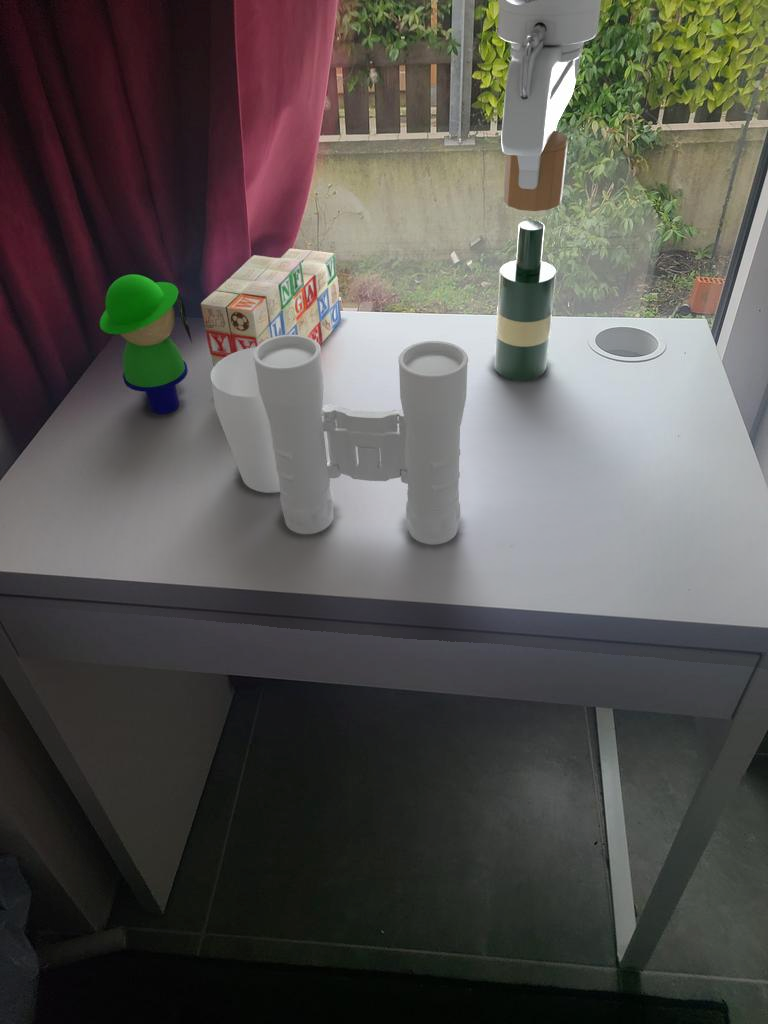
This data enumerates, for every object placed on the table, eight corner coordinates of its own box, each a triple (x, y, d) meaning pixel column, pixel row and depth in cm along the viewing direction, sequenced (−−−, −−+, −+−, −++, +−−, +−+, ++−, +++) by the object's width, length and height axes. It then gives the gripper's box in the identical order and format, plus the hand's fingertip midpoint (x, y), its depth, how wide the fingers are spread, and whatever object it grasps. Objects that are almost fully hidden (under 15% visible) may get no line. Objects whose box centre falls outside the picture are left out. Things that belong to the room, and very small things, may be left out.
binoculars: (465, 511, 77) (470, 342, 65) (459, 551, 73) (465, 378, 61) (288, 497, 79) (263, 332, 67) (274, 535, 75) (244, 367, 63)
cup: (299, 437, 87) (286, 336, 79) (333, 484, 81) (322, 380, 73) (218, 462, 84) (196, 361, 76) (247, 513, 78) (226, 408, 70)
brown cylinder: (565, 192, 84) (571, 130, 80) (556, 213, 80) (562, 149, 76) (510, 188, 85) (514, 127, 81) (499, 208, 81) (502, 145, 77)
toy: (208, 411, 91) (181, 286, 81) (130, 430, 89) (92, 304, 79) (192, 373, 98) (165, 252, 88) (119, 389, 95) (83, 268, 85)
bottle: (550, 357, 97) (565, 216, 86) (541, 384, 93) (556, 239, 81) (499, 351, 99) (508, 211, 87) (488, 377, 94) (496, 234, 83)
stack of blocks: (298, 314, 108) (287, 223, 99) (342, 321, 106) (334, 228, 98) (219, 401, 93) (198, 301, 85) (268, 410, 91) (252, 309, 83)
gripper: (567, 41, 64) (550, 216, 73) (598, -8, 78) (581, 143, 87) (487, 38, 65) (480, 210, 74) (533, -9, 80) (522, 139, 89)
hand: (535, 173), depth 81 cm, fingers closed on brown cylinder, 6 cm apart
